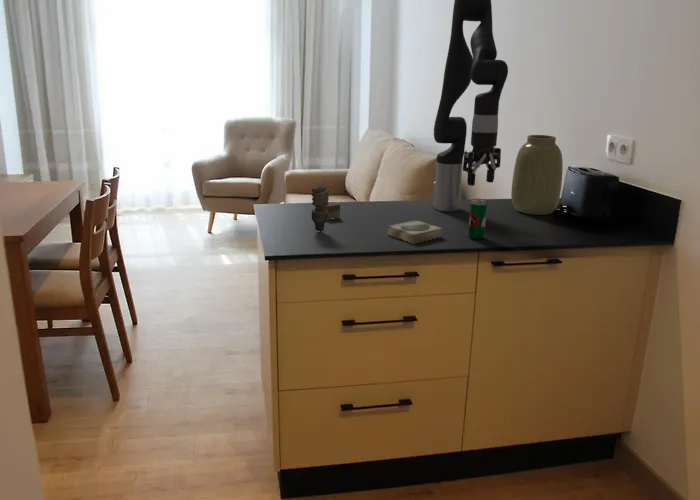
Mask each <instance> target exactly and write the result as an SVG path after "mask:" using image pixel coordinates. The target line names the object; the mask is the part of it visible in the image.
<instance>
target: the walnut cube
mask: <svg viewBox="0 0 700 500" xmlns="http://www.w3.org/2000/svg"><path fill="white" fill-rule="evenodd" d="M328 203H329V204H328V205H327V206H326V207H325V209H326V210H327V211H328V219H331V218H339V217H340V218H341V204H340V203H338V202H336V201H328Z"/></svg>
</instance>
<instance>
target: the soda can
mask: <svg viewBox="0 0 700 500" xmlns="http://www.w3.org/2000/svg"><path fill="white" fill-rule="evenodd" d="M487 210H488V203H487V199H485V198H472V199H471V201H470V203H469V213H468V214H469V216H468V218H469V219H468V227H467V228H468V229H467V236H468V238H470V239H471V238H472V239H471V240H482V239H483V238H485V232H486V219H487Z"/></svg>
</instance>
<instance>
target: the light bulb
mask: <svg viewBox="0 0 700 500" xmlns="http://www.w3.org/2000/svg"><path fill="white" fill-rule="evenodd" d="M311 192H312V193H311V196H312V198H311V201H312V202H311V205H312V206H314V209H313V210H311V220H312V221H313V223H314V229H315V230H316V231H317V232H318V231H320V232H321V231H322V232H324V231H325V225H326V222H327V221H328V220H327V219H328V211H327V210H326V209H325V207H326V206H327V205H328V204H329V203H328V202H329V200H330V199H329V196H330V188H329V187H327V186H324V185H320V186H318V187H317V188H312V189H311ZM322 232H321V233H322Z"/></svg>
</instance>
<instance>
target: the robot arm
mask: <svg viewBox="0 0 700 500" xmlns="http://www.w3.org/2000/svg"><path fill="white" fill-rule="evenodd" d="M452 8H453V9H452V19H451V27H450V28H451V31H450V38H449V46H448V50H447V51H448V52H447V56H446V60H445V66H444V67H445V68H444V73H443V79H442V80H443V81H442V88H441V95H440V99H439V104H438V109H437V113H436V116H435V120H434V125H433V139H434V141H435V142H436V143H437V144H451V145H450V146H449V147H448V148H447V149H446V150H443V151H440V152H439V153H437V156H436V166H435V167H436V168H435V169H436V170H435V181H433V185H432V201H431V202H432V204H431V207H432V208H433V209H434V210H436V211H440V212H457V211H459V210H460V204H461V203H460V202H461V201H460V200H461V189H462V179H463V178H462V175H463V172H465V173H466V172H467V181H466V182H467V185H468V186H471V187H474V186H475V184H476V171H477V170H478V168H480V167H481V165H485V166H486V168H487V170H486V180H485V181H486V182H487V183H493V182H494V180H495V174H496V173H495V171H496V170H497V169H498V168H500V167H501V156H502V155H501V154H502V149H501V147H500V148H499V147H496V146H497V142H498V141H497V139H498V131H499V130H498V129H499V109H500V107H499V106H500V105H499V104H500V98H501V94H502V92H503V89H504V86H505V83H506V81H507V78H508V75H509V67H508V64H507V62H506V61H504V60H503V59H497V56H498V50H497V47H496V42H495V38H494V33H493V30H494V29H493V12H492V11H493V10H492V9H493V7H492V0H454V2H453V7H452ZM464 22H480V23H479V25H478V26H477V27H476V28H475V30H474V31H473V33H472V34H471V37H470V42H469V43H470V48H469V46H468V43H467V40H466V38H465V35H464ZM471 82H472V83H473V84H475V85H477V86H492V87H491V88H490V89H489V91H486V92H482V93H478V94H477V95H475V98H474V105H473V117H472V121H471V134H470V135H471V137H470V145H471V146H472V150H470V151H469V150H465V147H466V139H467V131H468V130H467V129H468V128H467V127H468V126H467V121H466V119H465V118H464V117H463V116H450V115H451V112H452V110H453V108H454V106H455V104H456V103H457V102H458V100H459V99H460V98H461V97H462V96H463V94H464V93H465V92H466V90H467V89H468V87H469V86H470V84H471Z"/></svg>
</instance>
